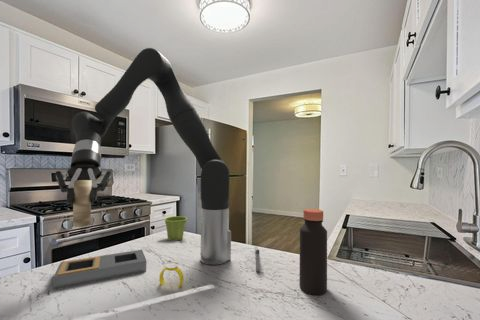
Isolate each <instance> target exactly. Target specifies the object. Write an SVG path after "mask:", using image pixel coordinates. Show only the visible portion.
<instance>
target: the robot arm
mask: <svg viewBox="0 0 480 320" xmlns="http://www.w3.org/2000/svg"><path fill="white" fill-rule="evenodd" d="M148 79H149V80H151V81H152V82H153V83H154V85H155V86H156V87H157V89H158V90H159V92H160V94H161V95H162V97H163V100H164V103H165V108H166V112H167V116H168V118H169V120H170V122H171V124H172V125H173V128H174V129H175V131H176V133H177V134H178V136H179V137H180V138H181V140H182V142H183V143H185V145H186V147H187V148H188V149H189V150H190V151H191V152H192V154H193V156H194V157H195V158H196V161H197V163H198V165H199V167H200V170H201V171H200V202H201V209H200V211H201V212H200V213H201V214H200V218H201V219H200V220H201V221H200V254H199V255H200V261H201V262H202V263H203V264H205V265H209V266H210V265H211V266H214V265H221V264H225V263H227V262H228V261H231V259H232V258H231V257H232V256H231V255H232V252H231V251H232V231H231V230H230V229H229V227H230V226H229V225H230V224H229V223H230V169H229V167H228V165H227V164H226V163H225V161H224V160H223V159H222V157H221V156H220V154H219V153H218V152H217V150H216V149H215V147H214V146H213V144H212V141H211V139H210V137H209V134H208V132H207V129H206V127H205V126H204V123H203V121H202V119H201V117H200V116H199V113H198V112H197V110H196V108H195V107H194V105H193V103H192V102H191V100H190V99H189V97H188V95H187V94H186V93H185V91H184V89H183V88H182V86H181V85H180V83H179V80H178V77H177V76H176V74H175V71H174V68H173V66H172V64H171V62H170V61H169V59H168V58H167V57H165V56H164V55H163V54H162V53H161V52H159V50H157V49H155V48H153V47H145V48H143V49H142V50H141V51H139V53H137V56H135V58H134V59H133V60H132V62H131V63H130V65H129V67H128V68H126V70H125V71H124V73H123V75H122V76H121V77H120V79H119V80H118V81H117V82H116V84H115V85H113V88H112V89H111V90H109V92H107V94H105V95H104V96H103V97H102V98H101V99H100V100H99V101H98V102H96V104H95V106H94V111H95V112H96V113H97V115H98V116H99V117H100V118H101V119H99V118H98V117H96V116H95V115H93V114H91V113H90V112H87V111H80V112H77V113H76V115H74V116H73V119H72V121H71V122H72V124H71V125H72V126H71V127H72V131H73V135H74V137H75V143H74V148H73V150H72V154H71V160H70V162H71V163H70V166H69V168H68V169H67V171H63V172H61V171H60V170H56V171H55V178H56V182H57V184H58V186H59V190H60V192H61V193H67V194H66V202H67V203H69V205H73V202H74V181H76V180H92V188H91V197H90V203H91V204H94V202H96V201H97V200H98V197H97V196H98V192H104V191H105V190H106V188H107V186H108V184H109V183H110V181H111V178H112V171H111V170H107V171H102V169H101V166H102V165H101V164H102V163H101V161H102V150H101V146H102V145H101V144H102V139H101V138H103V137H104V136H105V135H106V133H107V131H108V129H109V128H110V126H111V124H112V123H113V121H114V120H115V119H116V118H117V117H118V116H119V115H120V113H122V112H123V111H124V110H125V109H126V108H127V107H128V106H129V104H130V103H131V100H132V98H133V95H134V93H135V92H136V90H137V89H138V87H139V86H140V85H141V84H143V83H144V82H145V81H146V80H148ZM67 177H69V179H71V180H70V182H69V184H66V182H65V181H66V179H67ZM100 177H101V179H102V180H101V181H100V183H99V184H98V183H97V180H98V179H99V178H100Z"/></svg>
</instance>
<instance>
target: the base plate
mask: <svg viewBox="0 0 480 320" xmlns="http://www.w3.org/2000/svg"><path fill="white" fill-rule="evenodd" d="M145 272H147V260H146V255H145V254H144V251H143V249H137V250H131V251H124V252H117V253H111V254H103V255H96V256H92V257H85V258H77V259H73V260H66V261H60V263H59V264H58V267H57V269H56V272H55V273H54V275H53V279H52V286H53V287H52V290H53V291H55V290H59V289H64V288H69V287H74V286H80V285H85V284H90V283H94V282H99V281H104V280H110V279H115V278H119V277H125V276H130V275H135V274H140V273H145Z"/></svg>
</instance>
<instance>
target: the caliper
mask: <svg viewBox="0 0 480 320" xmlns="http://www.w3.org/2000/svg"><path fill="white" fill-rule="evenodd" d="M254 252H255V271H256V272H260V249H259V247H258V246H257V245H255V246H254Z"/></svg>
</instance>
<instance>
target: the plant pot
mask: <svg viewBox="0 0 480 320" xmlns="http://www.w3.org/2000/svg"><path fill="white" fill-rule="evenodd" d="M163 220H164V224H165V226H166V227H165V228H166V234H167V240H168V241H174V240H176V241H179V240H183V239H184V232H185V227H186V223H187V220H188V218H187V217H186V216H169V217H165V218H164V219H163Z"/></svg>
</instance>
